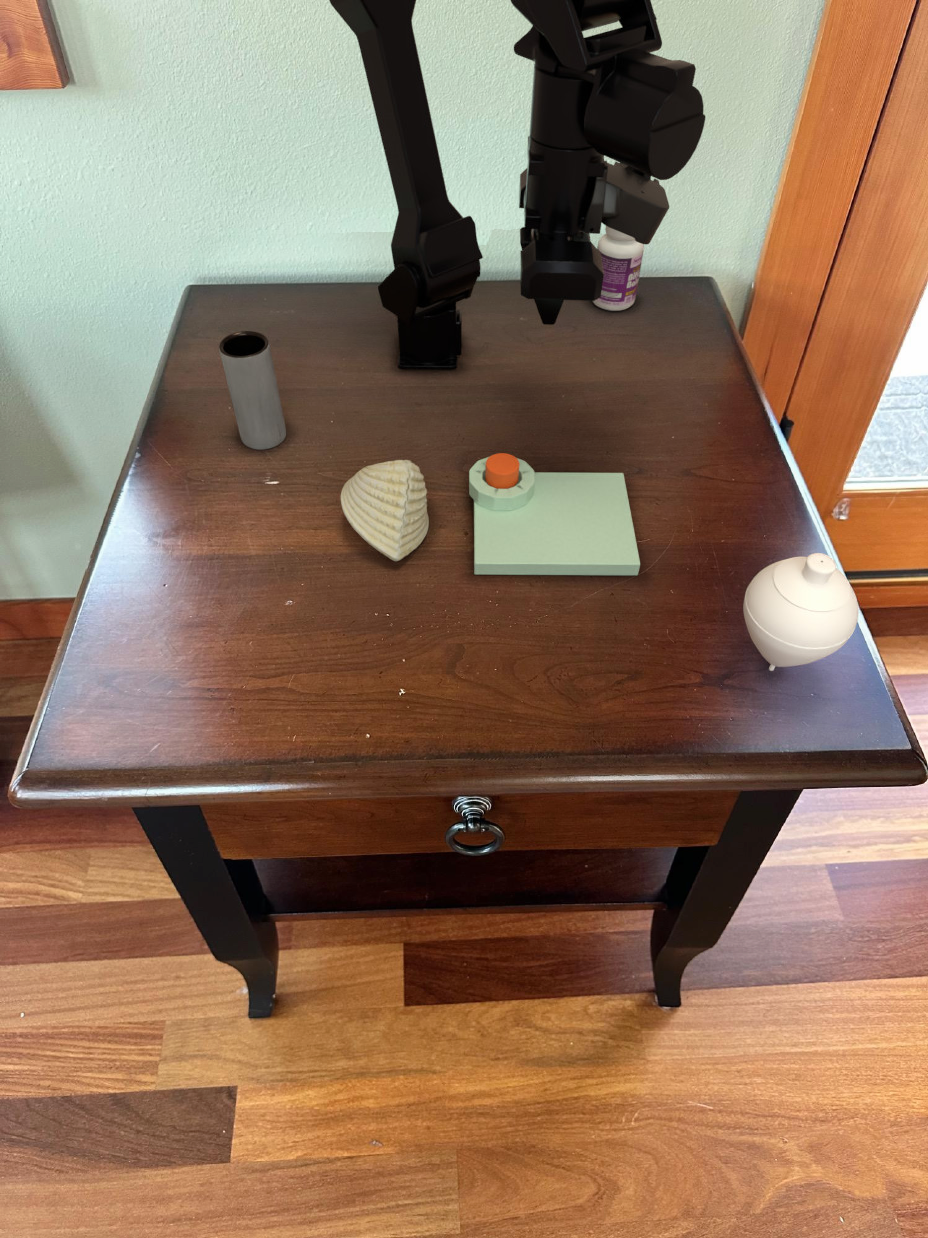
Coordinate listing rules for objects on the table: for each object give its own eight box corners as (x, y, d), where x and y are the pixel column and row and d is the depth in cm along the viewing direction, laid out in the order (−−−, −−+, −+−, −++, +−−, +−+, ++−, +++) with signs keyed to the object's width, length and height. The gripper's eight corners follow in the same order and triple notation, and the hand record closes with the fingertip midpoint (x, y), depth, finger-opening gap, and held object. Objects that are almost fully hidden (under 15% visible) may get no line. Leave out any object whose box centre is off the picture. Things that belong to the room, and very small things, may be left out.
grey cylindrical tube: (295, 429, 84) (278, 336, 76) (270, 455, 82) (250, 361, 74) (257, 417, 86) (237, 325, 78) (231, 442, 83) (208, 349, 75)
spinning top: (821, 721, 62) (884, 615, 53) (716, 697, 63) (760, 590, 54) (822, 643, 66) (879, 534, 57) (724, 623, 68) (765, 513, 59)
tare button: (485, 489, 74) (486, 474, 73) (485, 468, 76) (485, 452, 75) (519, 489, 74) (520, 474, 73) (517, 468, 76) (518, 452, 75)
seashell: (426, 460, 78) (457, 470, 70) (409, 549, 79) (438, 568, 72) (342, 444, 74) (366, 453, 67) (326, 537, 76) (347, 555, 69)
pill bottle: (633, 314, 99) (647, 233, 92) (588, 309, 100) (598, 228, 92) (636, 292, 103) (649, 212, 95) (593, 287, 103) (603, 207, 96)
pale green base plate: (469, 574, 71) (469, 549, 69) (468, 480, 79) (469, 454, 77) (638, 575, 71) (643, 550, 69) (620, 480, 79) (625, 455, 77)
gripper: (689, 191, 58) (648, 385, 69) (658, 93, 70) (628, 273, 81) (528, 186, 58) (515, 381, 70) (524, 90, 70) (514, 270, 82)
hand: (548, 322), depth 76 cm, fingers closed
